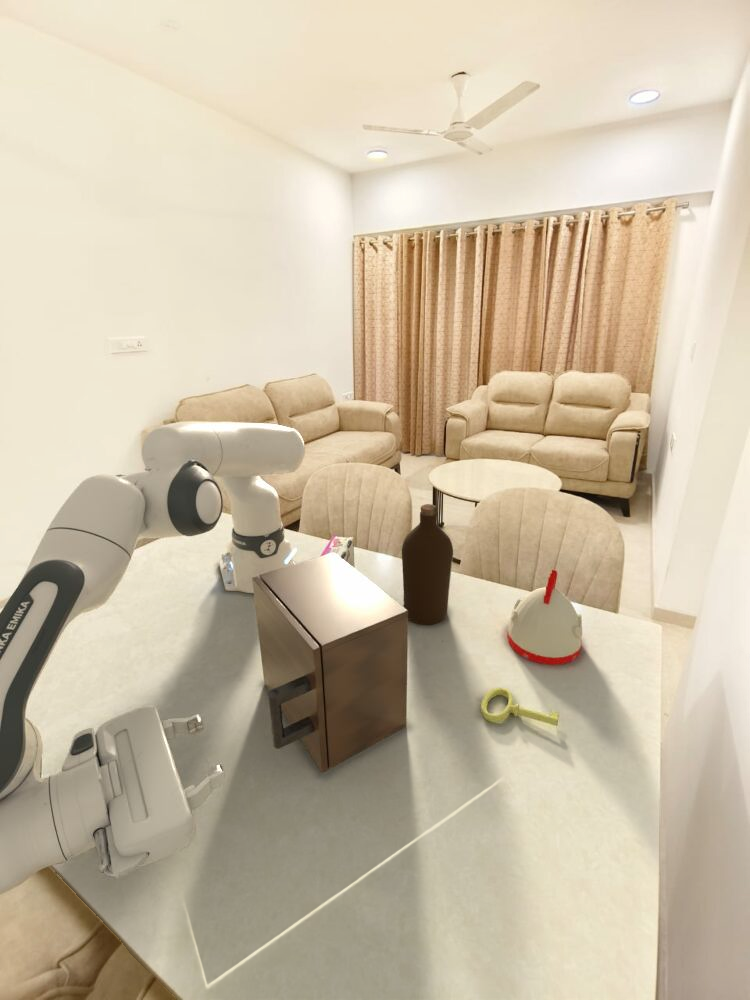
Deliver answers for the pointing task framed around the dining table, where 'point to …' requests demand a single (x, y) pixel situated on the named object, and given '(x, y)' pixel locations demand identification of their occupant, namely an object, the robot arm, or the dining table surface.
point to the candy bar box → (341, 548)
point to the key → (514, 709)
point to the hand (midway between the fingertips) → (212, 745)
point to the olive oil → (427, 569)
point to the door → (291, 676)
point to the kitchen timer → (546, 626)
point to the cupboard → (350, 649)
